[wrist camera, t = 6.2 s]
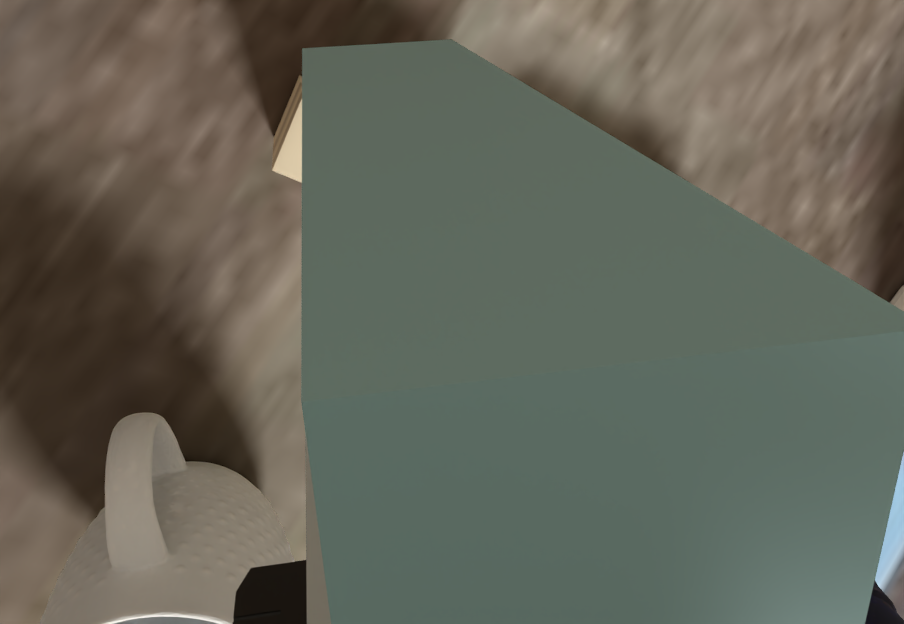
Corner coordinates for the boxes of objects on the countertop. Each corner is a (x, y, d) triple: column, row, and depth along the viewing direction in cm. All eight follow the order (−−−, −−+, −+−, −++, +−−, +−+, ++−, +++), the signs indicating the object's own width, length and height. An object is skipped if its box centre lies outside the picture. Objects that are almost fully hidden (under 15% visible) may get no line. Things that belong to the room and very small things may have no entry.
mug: (32, 379, 39) (-75, 565, 27) (264, 340, 40) (256, 500, 29) (118, 611, 45) (60, 843, 34) (315, 570, 47) (326, 778, 35)
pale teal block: (301, 48, 16) (299, 402, 4) (451, 39, 17) (930, 328, 4) (368, 646, 23) (451, 1517, 10) (473, 630, 23) (680, 1447, 11)
